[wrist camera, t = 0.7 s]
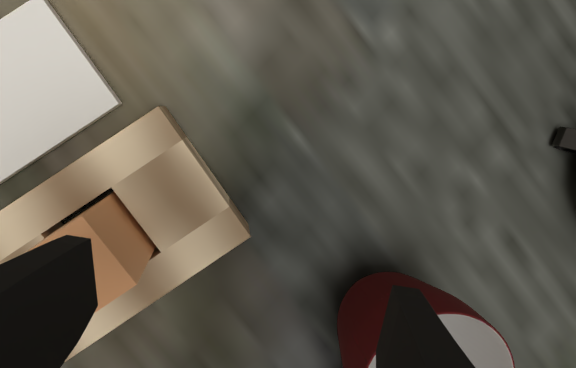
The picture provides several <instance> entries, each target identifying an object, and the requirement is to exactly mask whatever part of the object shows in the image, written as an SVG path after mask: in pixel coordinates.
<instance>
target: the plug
mask: <svg viewBox="0 0 576 368" xmlns="http://www.w3.org/2000/svg"><path fill="white" fill-rule="evenodd" d="M65 235H71V236H78V237H84V238H91V244H92V253H93V263H94V272H95V281H96V291H97V300H98V307H97V308H96V310H95V312H97V311H98V310H100V309H101V308H103V307H104V306H106V305H107V304H109V303H110V302H112V301H113V300H115V299H116V298H118V297H119V296H121V295H122V294H124V293H125V292H127V291H128V290H130V289H131V288H133V287H134V286H135V285H137V283H138V281H139V279H140V277H141V275H142V273H143V271H144V269H145V267H146V265H147V263H148V261H149V259H150V258H151V256H152V254H153V252H154V250H155V248H156V245H155V244H154V242H153V241H152V240H151V239H150V237H149V236H148V235H147V233H146V232H145V231H144V229H143V228H142V227H141V226H140V224H139V223H138V222H137V220H136V219H135V218H134V216H133V215H132V214H131V213H130V211H129V210H128V209H127V207H126V206H125V205H124V203H123V202H122V201H121V200H120V198H119V197H118V196H117V194H116V193H115V192H114V191H113V192H112V193H110V194H109V195H107V196H106V197H104V198H103V199H101V200H100V201H98V202H97V203H95V204H94V205H92V206H91V207H89V208H88V209H86V210H85V211H83V212H82V213H80V214H79V215H77V216H76V217H74V218H73V219H71V220H70V221H68V222H67V223H65V224H64V225H63V226H61V227H60V228H58V229H57V230H56V231H54V232H53V233H51V234H50V235H49V236H47V237H46V238H44V239H43V240H42V241H40V242H39V243H37V244H36V245H35V246H33V247H32V248H30V249H29V250H28V251H30V250H32V249H34V248H37V247H39V246H41V245H43V244H45V243H48V242H50V241H52V240H55V239H57V238H60V237H62V236H65ZM28 251H26V252H28ZM26 252H25V253H26ZM23 254H24V253H23ZM95 312H94V313H95Z"/></svg>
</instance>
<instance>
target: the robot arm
mask: <svg viewBox="0 0 576 368" xmlns="http://www.w3.org/2000/svg"><path fill="white" fill-rule="evenodd" d="M97 307H98V300H97V291H96V281H95V272H94V263H93V253H92V244H91V238H84V237H78V236H71V235H65V236H62V237H60V238H57V239H55V240H52V241H50V242H48V243H45V244H43V245H41V246H39V247H37V248H34V249H32V250H30V251H28V252H26V253H24V254H22V255H19V256H17V257H15V258H13V259H11V260H9V261H7V262H4V263H2V264H0V368H60V367H61V366H62V364H63V363H64V362H65V360H66V359H67V357H68V356H69V355H70V353H71V352H72V350H73V349H74V348H75V346H76V345H77V343H78V342H79V340H80V338H81V336H82V334H83V333H84V331H85V329H86V327H87V326H88V324H89V322H90V320H91V318H92V316H93V314H94V312H95V310H96V308H97ZM376 368H475V366H474V365H473V364H472V362H471V361H470V360H469V358H468V357H467V356H466V354H465V353H464V352H463V350H462V349H461V348H460V346H459V345H458V344H457V342H456V341H455V340H454V338H453V337H452V335H451V334H450V333H449V331H448V330H447V328H446V327H445V325H444V324H443V322H442V321H441V320H440V318H439V317H438V315H437V314H436V312H435V311H434V309H433V308H432V306H431V305H430V303H429V302H428V301H427V299H426V298H425V296H424V295H423V293H422V292H421V291H420V289H417V288H410V287H404V286H397V285H392V289H391V293H390V296H389V300H388V304H387V308H386V312H385V316H384V320H383V324H382V328H381V332H380V336H379V340H378V344H377V348H376Z"/></svg>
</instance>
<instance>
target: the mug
mask: <svg viewBox="0 0 576 368" xmlns="http://www.w3.org/2000/svg"><path fill="white" fill-rule="evenodd" d="M392 285H397V286H404V287H410V288H417V289H420V291H421V292H422V293H423V295H424V296H425V298H426V299H427V301H428V302H429V303H430V305H431V306H432V308H433V309H434V311H435V312H436V314H437V315H438V317H439V318H440V320H441V321H442V322H443V324H444V325H445V327H446V328H447V330H448V331H449V333H450V334H451V335H452V337H453V338H454V340H455V341H456V342H457V344H458V345H459V346H460V348H461V349H462V350H463V352H464V353H465V354H466V356H467V357H468V358H469V360H470V361H471V362H472V364H473V365H474V366H475V368H515V366H514V361H513V356H512V354H511V351H510V349H509V347H508V345H507V343H506V341H505V340H504V338H503V337H502V336H501V334H500V333H499V332H498V331H497V330H496V329H495V328H494V327H493V326H492V325H491V324H490V323H488V322H487V321H486V320H485V319H484V318H483V317H482V316H480V315H479V314H478V313H477V312H476V311H474V310H473V309H472V308H471V307H469V306H468V305H467V304H465V303H464V302H462V301H461V300H459V299H458V298H456V297H454V296H452V295H451V294H448V293H446V292H444V291H442V290H440V289H438V288H436V287H433V286H431V285H429V284H427V283H424V282H422V281H420V280H418V279H415V278H413V277H411V276H408V275H405V274H402V273H397V272H380V273H375V274H371V275H368V276H366V277H364V278H362V279H360V280H358V281H357V282H356V283H355V284H354V285H353V286H352V287H351V288H350V289H349V290H348V292H347V293H346V295H345V296H344V298H343V300H342V302H341V305H340V308H339V312H338V318H337V332H338V339H339V346H340V352H341V358H342V364H343V368H376V348H377V344H378V340H379V336H380V332H381V328H382V324H383V320H384V316H385V312H386V308H387V304H388V300H389V296H390V293H391V289H392Z"/></svg>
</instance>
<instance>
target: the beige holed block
mask: <svg viewBox="0 0 576 368" xmlns="http://www.w3.org/2000/svg"><path fill="white" fill-rule="evenodd" d="M109 188H112V189H113V191H114V192H115V193H116V194H117V196H118V197H119V198H120V200H121V201H122V202H123V203H124V205H125V206H126V207H127V209H128V210H129V211H130V213H131V214H132V215H133V216H134V218H135V219H136V220H137V222H138V223H139V224H140V226H141V227H142V228H143V229H144V231H145V232H146V233H147V235H148V236H149V237H150V239H151V240H152V241H153V242H154V244H155V245H156V248H155V250H154V252H153V254H152V256H151V258H150V259H149V261H148V263H147V265H146V267H145V269H144V271H143V273H142V275H141V277H140V279H139V281H138V283H137V285H135V286H134V287H133V288H131V289H130V290H128V291H127V292H125V293H124V294H122V295H121V296H119V297H118V298H116V299H115V300H113V301H112V302H110V303H109V304H107V305H106V306H104V307H103V308H101V309H100V310H98V311H97V312H95V313H94V314H93V316H92V318H91V320H90V322H89V324H88V326H87V327H86V329H85V331H84V333H83V334H82V336H81V338H80V340H79V342H78V343H77V345H76V346H75V348H74V349H73V350H72V352H71V353H70V355H69V356H68V357H67V359H66V360H65V362H66V361H67V360H69V359H70V358H71V357H73V356H74V355H76V354H77V353H79V352H80V351H82V350H83V349H85V348H86V347H88V346H89V345H91V344H92V343H94V342H95V341H97V340H98V339H100V338H101V337H103V336H104V335H106V334H107V333H109V332H110V331H112V330H113V329H115V328H116V327H117V326H119V325H120V324H122V323H123V322H125V321H126V320H128V319H129V318H131V317H132V316H134V315H135V314H137V313H138V312H140V311H141V310H143V309H144V308H146V307H147V306H149V305H150V304H152V303H153V302H155V301H156V300H158V299H159V298H161V297H162V296H163V295H165V294H166V293H168V292H169V291H171V290H172V289H174V288H175V287H177V286H178V285H180V284H181V283H183V282H184V281H186V280H187V279H189V278H190V277H192V276H193V275H195V274H196V273H198V272H199V271H201V270H202V269H204V268H205V267H207V266H208V265H209V264H211V263H212V262H214V261H215V260H217V259H218V258H220V257H221V256H223V255H224V254H226V253H227V252H229V251H230V250H232V249H233V248H235V247H236V246H238V245H239V244H241V243H242V242H244V241H245V240H247V239H248V238H250V237H251V236H250V231H249V226H248V223H247V222H246V220H245V219H244V217H243V216H242V215H241V213H240V212H239V210H238V209H237V207H236V206H235V205H234V203H233V202H232V200H231V199H230V197H229V196H228V195H227V193H226V192H225V190H224V189H223V188H222V186H221V185H220V183H219V182H218V180H217V179H216V178H215V176H214V175H213V173H212V172H211V170H210V169H209V168H208V166H207V165H206V163H205V162H204V161H203V159H202V158H201V156H200V155H199V153H198V152H197V151H196V149H195V148H194V146H193V145H192V144H191V142H190V141H189V139H188V138H187V136H186V135H185V134H184V132H183V131H182V129H181V128H180V126H179V125H178V124H177V122H176V121H175V119H174V118H173V117H172V115H171V114H170V112H169V111H168V109H167V108H166V107H164V106H158V107H156V108H155V109H153V110H152V111H150V112H149V113H147V114H146V115H144V116H143V117H141V118H140V119H138V120H137V121H135V122H134V123H132V124H131V125H129V126H128V127H126V128H125V129H123V130H122V131H120V132H119V133H117V134H116V135H114V136H112V137H111V138H109V139H108V140H106V141H105V142H103V143H102V144H100V145H99V146H97V147H96V148H94V149H93V150H91V151H90V152H88V153H87V154H85V155H84V156H82V157H81V158H79V159H78V160H76V161H75V162H73V163H72V164H70V165H69V166H67V167H66V168H64V169H63V170H61V171H60V172H58V173H57V174H55V175H53V176H52V177H50V178H49V179H47V180H46V181H44V182H43V183H41V184H40V185H38V186H37V187H35V188H34V189H32V190H31V191H29V192H28V193H26V194H25V195H23V196H22V197H20V198H19V199H17V200H16V201H14V202H13V203H11V204H10V205H8V206H7V207H5V208H4V209H2V210H1V211H0V264H2V263H4V262H7V261H9V260H11V259H13V258H15V257H17V256H19V255H22V254H23V253H25V252H26V251H28V250H29V249H30V248H32V247H33V246H35V245H36V244H37V243H39V242H40V241H42V240H43V239H44V238H46V237H47V236H49V235H50V234H51V233H53V232H54V231H56V230H57V229H58V228H60V227H61V226H63V225H64V224H63V223H62V222H61V220H63V219H64V218H66V217H67V216H69V215H70V214H72V213H73V212H75V211H76V210H78V209H79V208H81V207H82V206H84V205H85V204H87V203H88V202H90V201H91V200H93V199H94V198H96V197H97V196H99V195H100V194H102V193H103V192H105V191H106V190H108V189H109Z"/></svg>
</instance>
